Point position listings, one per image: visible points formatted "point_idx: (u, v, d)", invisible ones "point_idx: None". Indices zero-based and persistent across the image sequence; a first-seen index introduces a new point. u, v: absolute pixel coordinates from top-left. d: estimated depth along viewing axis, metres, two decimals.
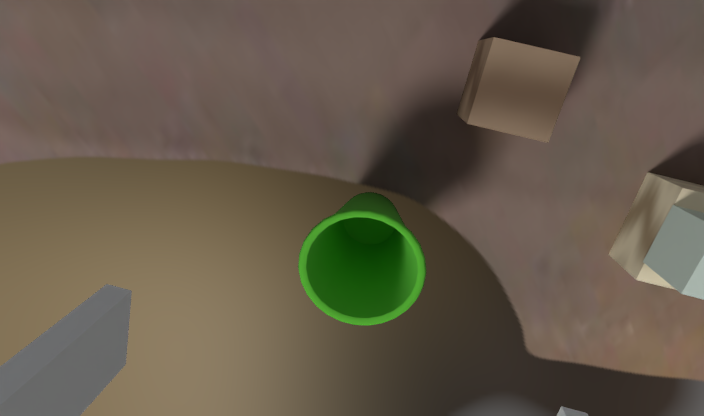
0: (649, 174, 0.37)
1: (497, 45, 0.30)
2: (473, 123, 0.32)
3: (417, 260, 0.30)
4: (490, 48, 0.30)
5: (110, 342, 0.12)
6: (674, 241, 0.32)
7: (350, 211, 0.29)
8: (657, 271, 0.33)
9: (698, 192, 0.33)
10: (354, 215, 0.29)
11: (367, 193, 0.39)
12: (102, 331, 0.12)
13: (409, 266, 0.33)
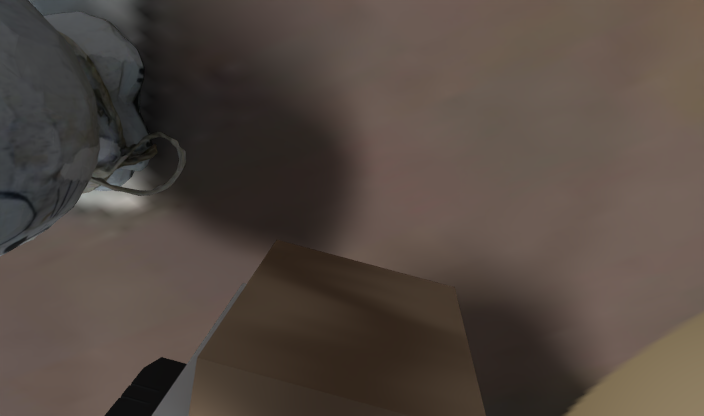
0: None
1: None
2: None
3: None
4: None
5: None
6: None
7: None
8: None
9: None
10: None
11: None
12: None
13: None
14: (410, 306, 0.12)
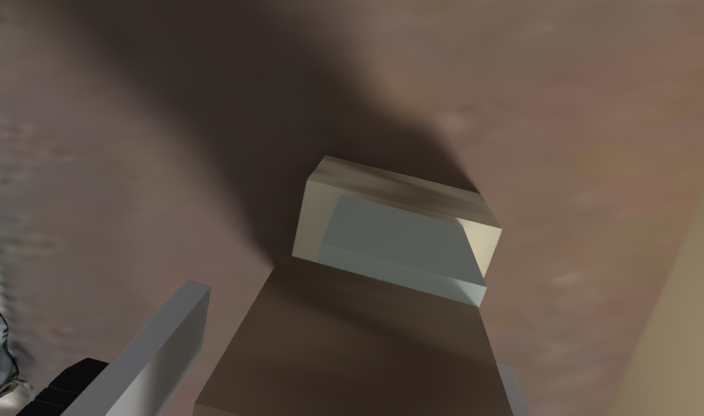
0: None
1: None
2: None
3: None
4: None
5: (194, 333, 0.13)
6: None
7: None
8: None
9: None
10: None
11: None
12: (190, 323, 0.13)
13: None
14: (432, 330, 0.11)
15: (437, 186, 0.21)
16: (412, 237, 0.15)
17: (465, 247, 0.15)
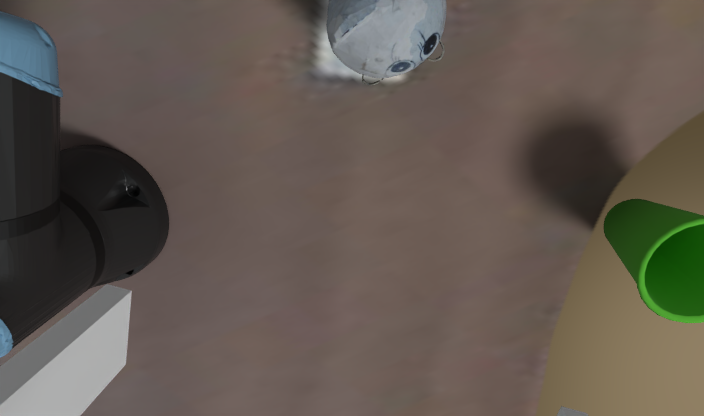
0: None
1: None
2: None
3: (701, 223, 0.32)
4: None
5: (110, 342, 0.12)
6: None
7: (638, 277, 0.34)
8: None
9: None
10: (642, 274, 0.34)
11: (605, 227, 0.43)
12: (102, 331, 0.12)
13: None
14: None
15: None
16: None
17: None
